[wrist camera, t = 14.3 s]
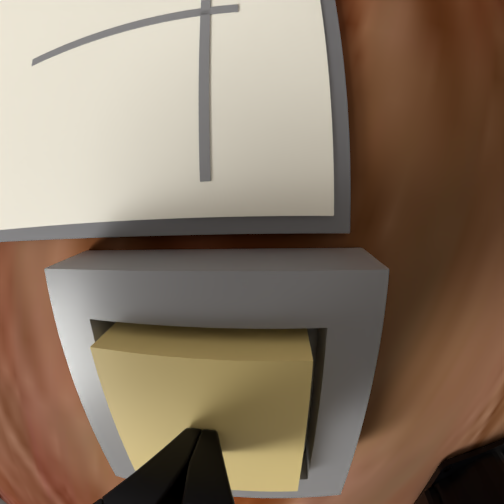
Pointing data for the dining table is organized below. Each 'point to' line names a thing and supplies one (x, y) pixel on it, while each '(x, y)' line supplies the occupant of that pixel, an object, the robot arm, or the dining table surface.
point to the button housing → (236, 316)
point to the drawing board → (172, 118)
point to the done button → (212, 394)
